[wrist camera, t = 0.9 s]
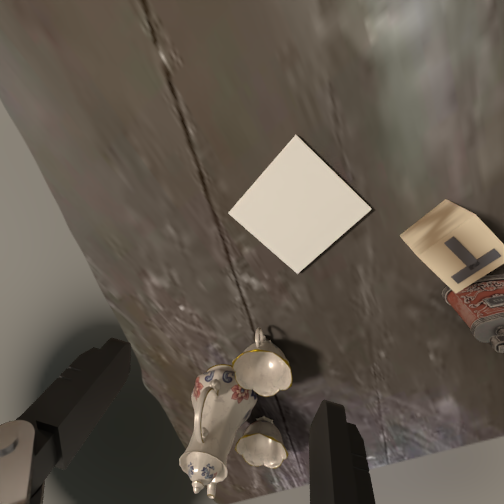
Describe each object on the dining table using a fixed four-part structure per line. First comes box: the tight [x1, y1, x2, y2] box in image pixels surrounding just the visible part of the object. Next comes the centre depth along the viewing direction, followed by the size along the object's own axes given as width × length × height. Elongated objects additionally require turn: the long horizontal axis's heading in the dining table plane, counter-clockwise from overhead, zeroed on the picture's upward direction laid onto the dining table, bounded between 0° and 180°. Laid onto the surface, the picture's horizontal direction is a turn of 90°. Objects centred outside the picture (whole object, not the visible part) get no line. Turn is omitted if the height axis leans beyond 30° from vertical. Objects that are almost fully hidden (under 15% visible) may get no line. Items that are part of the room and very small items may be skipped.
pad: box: [228, 135, 371, 274], centre depth 34 cm, size 12×12×1 cm
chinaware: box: [179, 328, 293, 498], centre depth 41 cm, size 28×17×17 cm, turn 5°
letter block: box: [400, 199, 504, 293], centre depth 30 cm, size 6×6×6 cm
